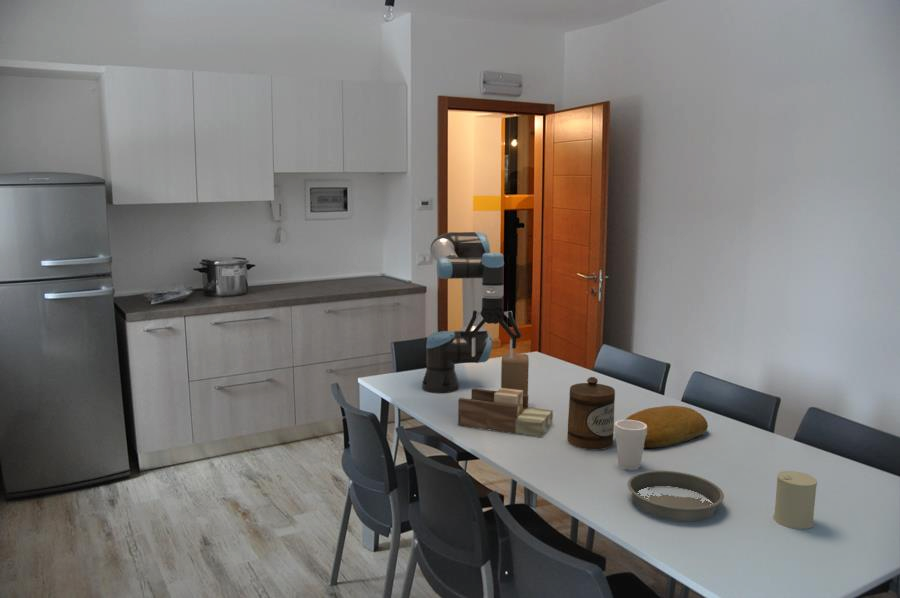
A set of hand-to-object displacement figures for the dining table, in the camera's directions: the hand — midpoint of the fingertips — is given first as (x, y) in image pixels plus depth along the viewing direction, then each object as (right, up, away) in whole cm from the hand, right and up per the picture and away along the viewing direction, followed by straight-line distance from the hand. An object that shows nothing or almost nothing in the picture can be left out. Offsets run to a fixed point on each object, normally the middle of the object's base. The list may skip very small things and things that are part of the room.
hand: (492, 356), depth 254 cm
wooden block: (+9, -21, +19) cm, 30 cm away
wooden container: (+31, -27, -16) cm, 45 cm away
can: (+72, -36, -71) cm, 108 cm away
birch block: (+5, -19, -2) cm, 20 cm away
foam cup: (+39, -30, -37) cm, 62 cm away
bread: (+57, -26, -11) cm, 63 cm away
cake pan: (+45, -35, -61) cm, 84 cm away
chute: (+5, -24, 0) cm, 24 cm away
